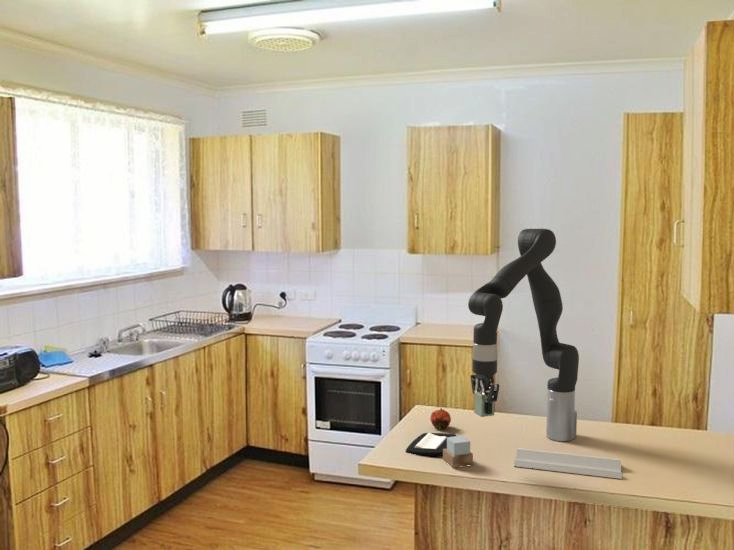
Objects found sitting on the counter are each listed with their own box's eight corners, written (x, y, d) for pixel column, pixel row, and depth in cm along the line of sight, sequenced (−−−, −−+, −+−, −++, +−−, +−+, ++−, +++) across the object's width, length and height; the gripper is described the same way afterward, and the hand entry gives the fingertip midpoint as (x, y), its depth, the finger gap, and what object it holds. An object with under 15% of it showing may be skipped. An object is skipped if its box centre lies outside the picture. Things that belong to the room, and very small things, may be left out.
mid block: (462, 447, 209) (462, 435, 209) (470, 453, 204) (470, 441, 204) (446, 449, 208) (446, 437, 207) (454, 455, 203) (454, 443, 202)
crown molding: (514, 469, 203) (514, 457, 203) (518, 455, 214) (518, 444, 214) (621, 481, 193) (621, 469, 193) (620, 466, 204) (620, 455, 204)
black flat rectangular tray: (421, 429, 233) (459, 431, 227) (422, 437, 233) (460, 439, 228) (401, 448, 215) (442, 450, 209) (402, 456, 215) (442, 459, 210)
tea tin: (487, 410, 206) (487, 388, 205) (494, 415, 201) (495, 392, 200) (473, 412, 204) (474, 390, 203) (481, 417, 200) (481, 394, 199)
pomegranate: (450, 437, 235) (455, 414, 242) (445, 425, 231) (450, 402, 238) (431, 436, 238) (435, 414, 245) (425, 425, 234) (430, 402, 241)
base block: (462, 458, 211) (462, 446, 211) (472, 466, 204) (472, 453, 204) (442, 461, 209) (442, 448, 208) (452, 469, 202) (452, 456, 202)
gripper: (507, 361, 195) (507, 417, 197) (483, 351, 209) (483, 403, 210) (485, 363, 193) (485, 419, 195) (462, 353, 206) (462, 406, 208)
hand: (484, 411), depth 202 cm, fingers closed on tea tin, 4 cm apart
